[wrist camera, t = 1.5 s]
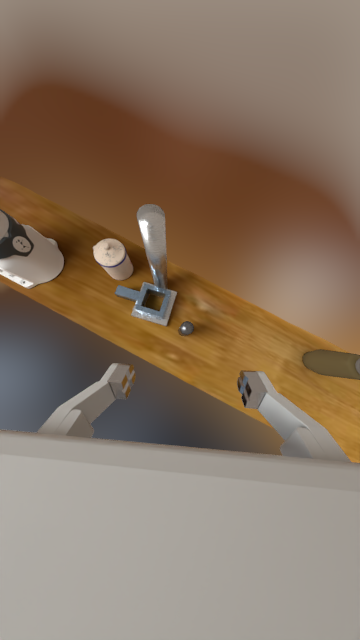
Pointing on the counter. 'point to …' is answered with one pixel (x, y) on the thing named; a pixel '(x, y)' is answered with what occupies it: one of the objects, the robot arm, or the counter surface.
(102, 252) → the teacup with lid
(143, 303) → the box with upright lever
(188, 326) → the dark grey rounded rod
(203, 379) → the counter surface
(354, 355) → the squeeze bottle
